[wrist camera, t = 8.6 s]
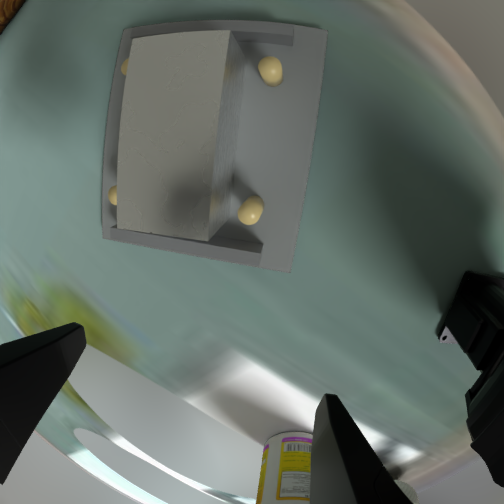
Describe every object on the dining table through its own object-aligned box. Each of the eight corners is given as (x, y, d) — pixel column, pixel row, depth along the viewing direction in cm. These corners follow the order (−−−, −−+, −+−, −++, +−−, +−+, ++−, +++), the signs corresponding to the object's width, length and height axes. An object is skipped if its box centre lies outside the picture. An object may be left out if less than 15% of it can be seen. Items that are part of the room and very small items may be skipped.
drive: (246, 60, 15) (230, 30, 10) (229, 217, 18) (207, 241, 13) (170, 61, 15) (132, 38, 10) (157, 208, 19) (117, 228, 14)
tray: (326, 35, 14) (332, 14, 11) (290, 267, 20) (289, 290, 17) (130, 33, 15) (105, 19, 12) (109, 234, 21) (83, 249, 18)
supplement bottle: (285, 462, 28) (275, 550, 16) (252, 439, 27) (233, 539, 15) (334, 447, 26) (336, 544, 14) (305, 421, 25) (300, 535, 13)
